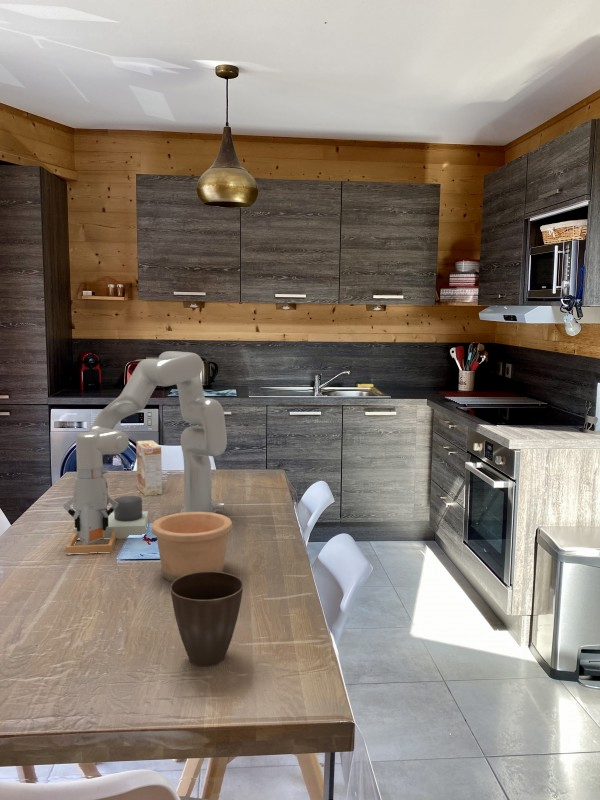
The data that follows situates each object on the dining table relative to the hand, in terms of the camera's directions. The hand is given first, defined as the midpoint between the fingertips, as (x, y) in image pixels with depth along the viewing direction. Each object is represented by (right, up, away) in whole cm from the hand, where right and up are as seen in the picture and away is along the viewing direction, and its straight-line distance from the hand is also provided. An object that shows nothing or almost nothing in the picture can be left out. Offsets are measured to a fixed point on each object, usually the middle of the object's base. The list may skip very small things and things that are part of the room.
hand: (91, 529), depth 211 cm
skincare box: (0, -3, 0) cm, 4 cm away
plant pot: (+45, -15, -67) cm, 81 cm away
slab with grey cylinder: (+3, -4, +9) cm, 10 cm away
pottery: (+34, -9, -20) cm, 40 cm away
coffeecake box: (+3, +3, +66) cm, 66 cm away
